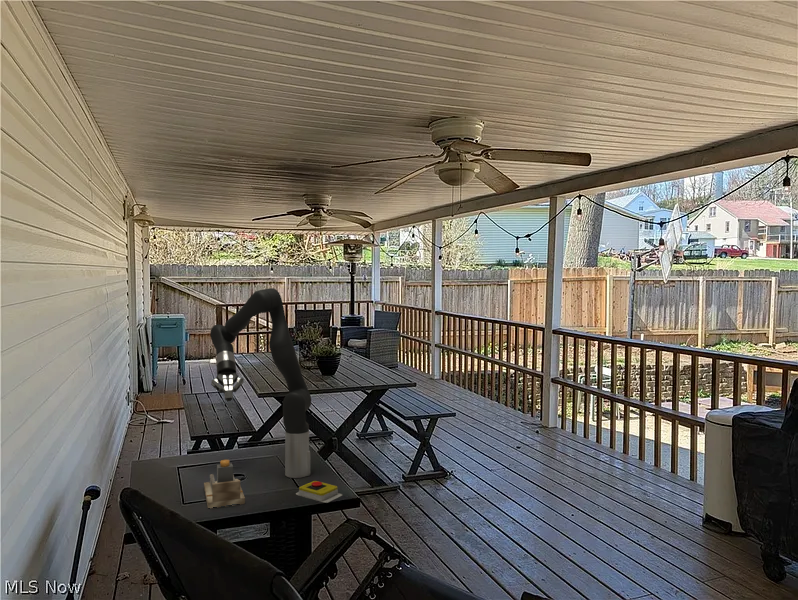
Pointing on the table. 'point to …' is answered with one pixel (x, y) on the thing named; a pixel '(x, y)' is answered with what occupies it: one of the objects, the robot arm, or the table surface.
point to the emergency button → (319, 491)
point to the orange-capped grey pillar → (224, 471)
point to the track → (223, 493)
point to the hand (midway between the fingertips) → (229, 400)
